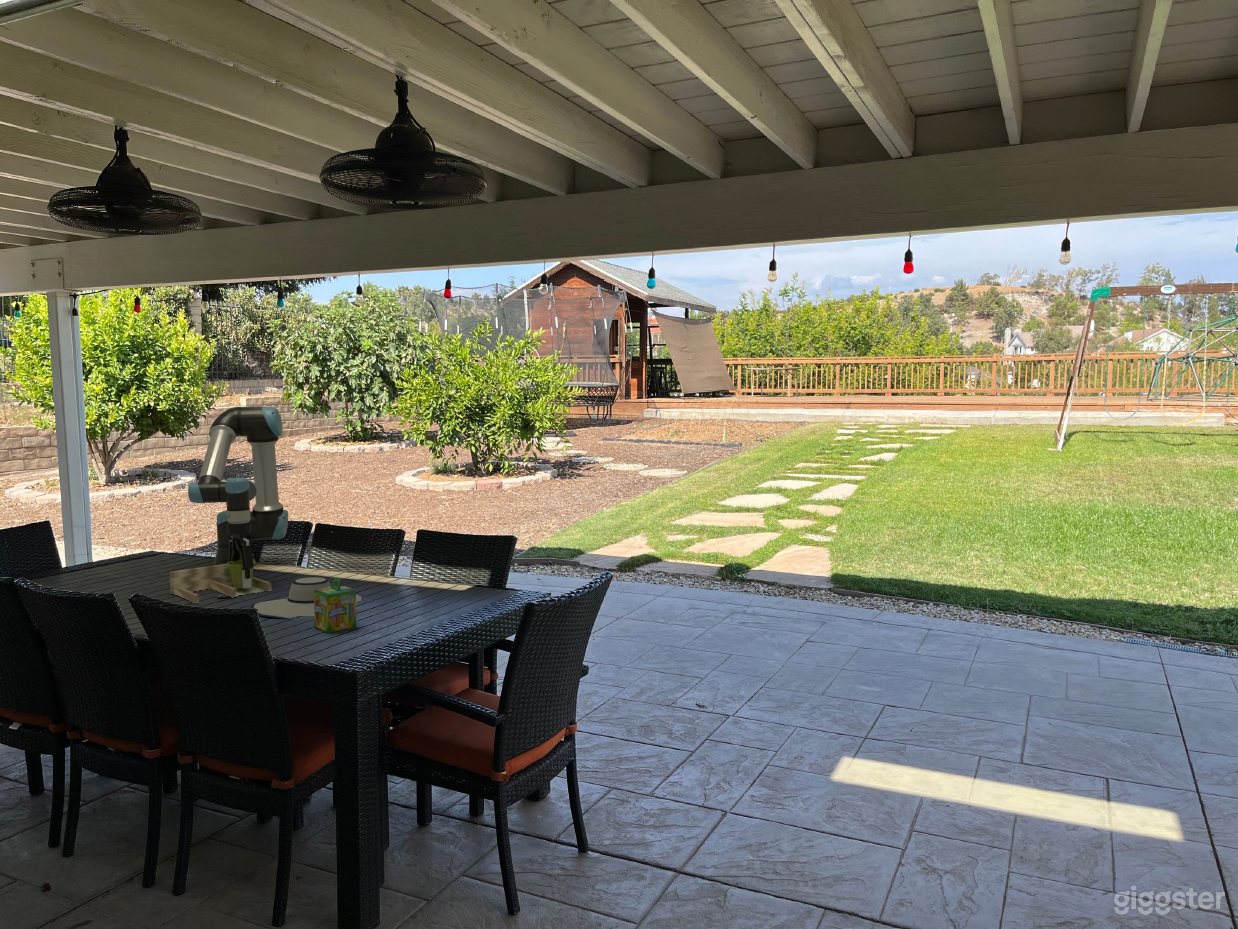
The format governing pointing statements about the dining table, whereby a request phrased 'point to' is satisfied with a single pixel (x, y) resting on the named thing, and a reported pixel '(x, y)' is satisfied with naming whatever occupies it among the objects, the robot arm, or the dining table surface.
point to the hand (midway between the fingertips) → (241, 585)
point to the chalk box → (335, 607)
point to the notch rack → (211, 582)
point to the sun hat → (295, 600)
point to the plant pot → (237, 573)
